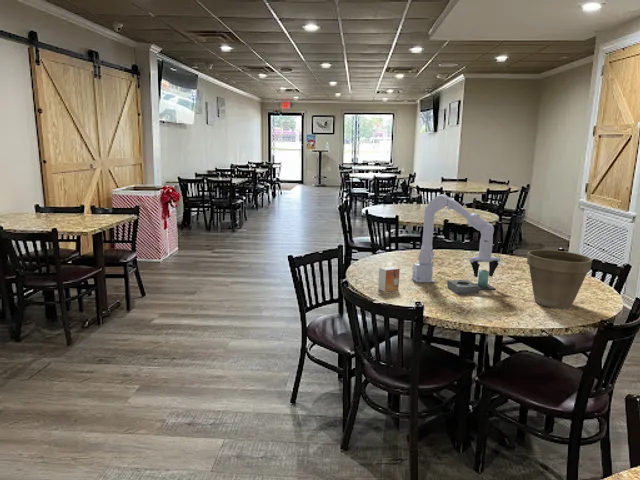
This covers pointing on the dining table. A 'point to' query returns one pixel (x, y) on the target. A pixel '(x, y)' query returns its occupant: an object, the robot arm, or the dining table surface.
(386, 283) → the small box
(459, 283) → the housing
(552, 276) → the plant pot
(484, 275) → the teal and grey cylinder
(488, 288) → the mat
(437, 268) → the dining table surface
